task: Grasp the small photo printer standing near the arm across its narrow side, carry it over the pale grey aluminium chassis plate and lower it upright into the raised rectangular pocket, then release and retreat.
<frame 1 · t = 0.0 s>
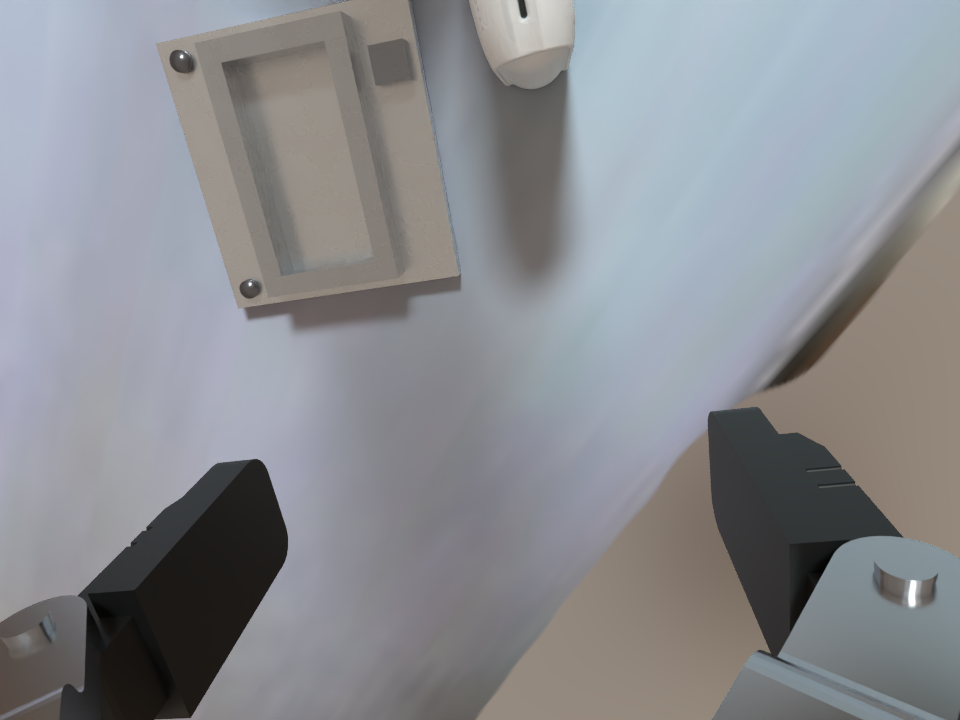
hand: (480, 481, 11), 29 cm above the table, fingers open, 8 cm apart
chassis: (319, 163, 38), on the table
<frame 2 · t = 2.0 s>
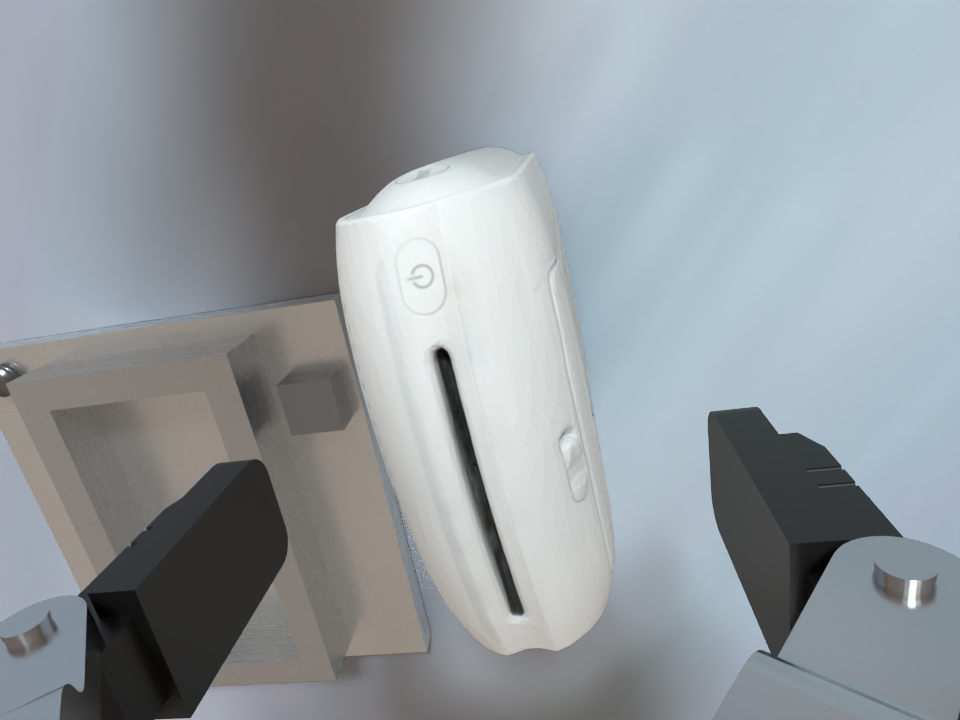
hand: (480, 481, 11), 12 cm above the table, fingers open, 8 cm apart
photo printer: (512, 293, 22), on the table
chassis: (222, 498, 26), on the table
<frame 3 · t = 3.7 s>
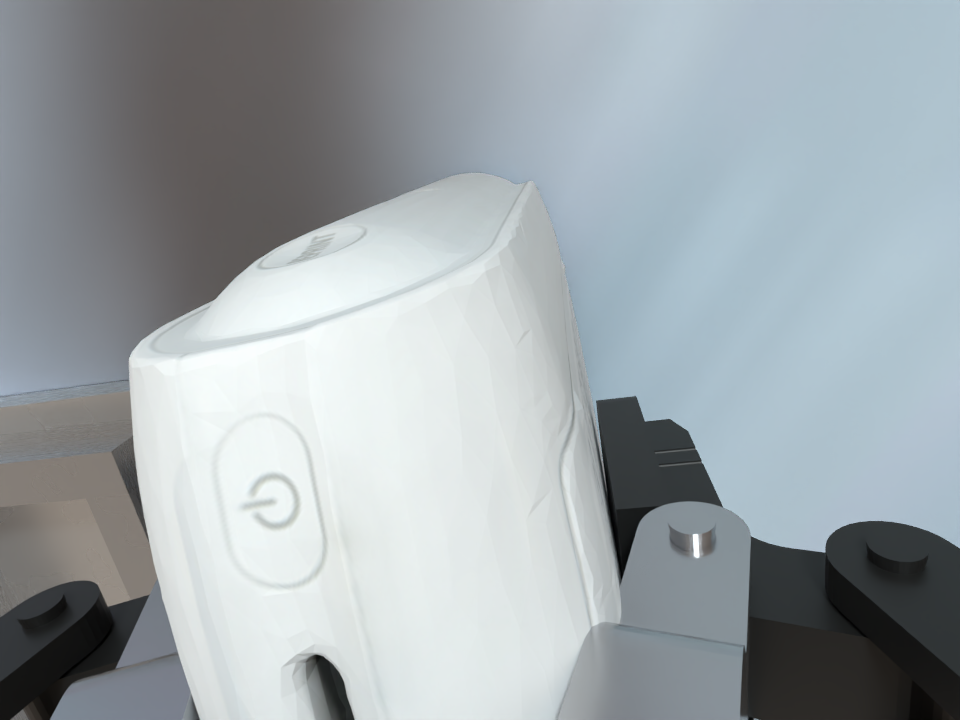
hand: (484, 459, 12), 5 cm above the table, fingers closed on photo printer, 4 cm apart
photo printer: (503, 364, 16), on the table, touching gripper
chassis: (136, 609, 21), on the table
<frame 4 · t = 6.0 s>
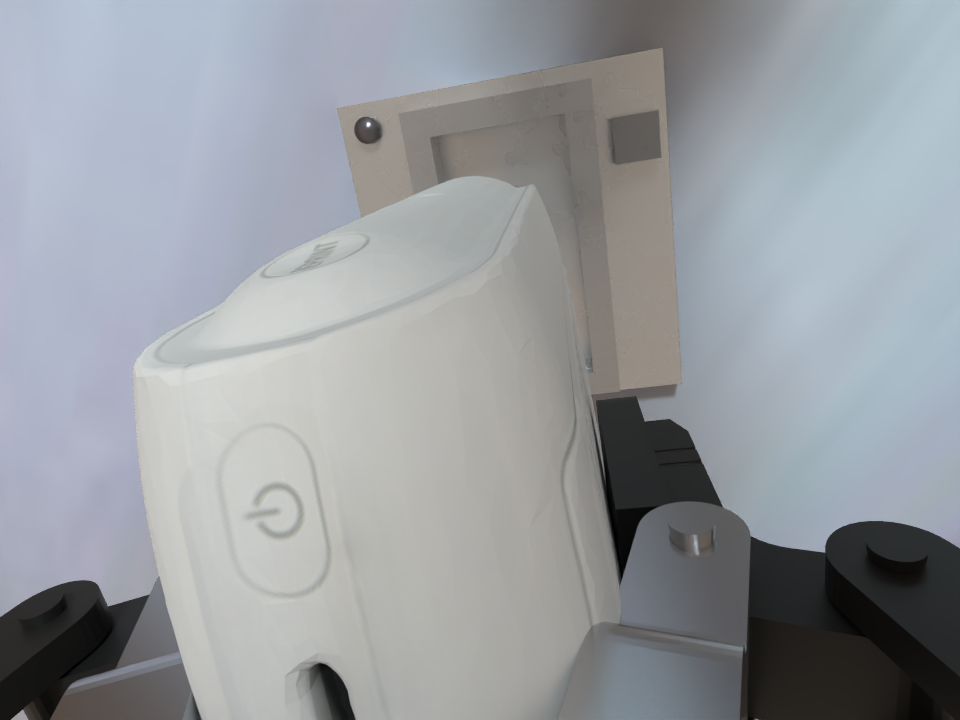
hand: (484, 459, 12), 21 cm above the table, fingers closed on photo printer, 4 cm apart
photo printer: (504, 367, 17), point 16 cm above the table, touching gripper
chassis: (518, 249, 32), on the table
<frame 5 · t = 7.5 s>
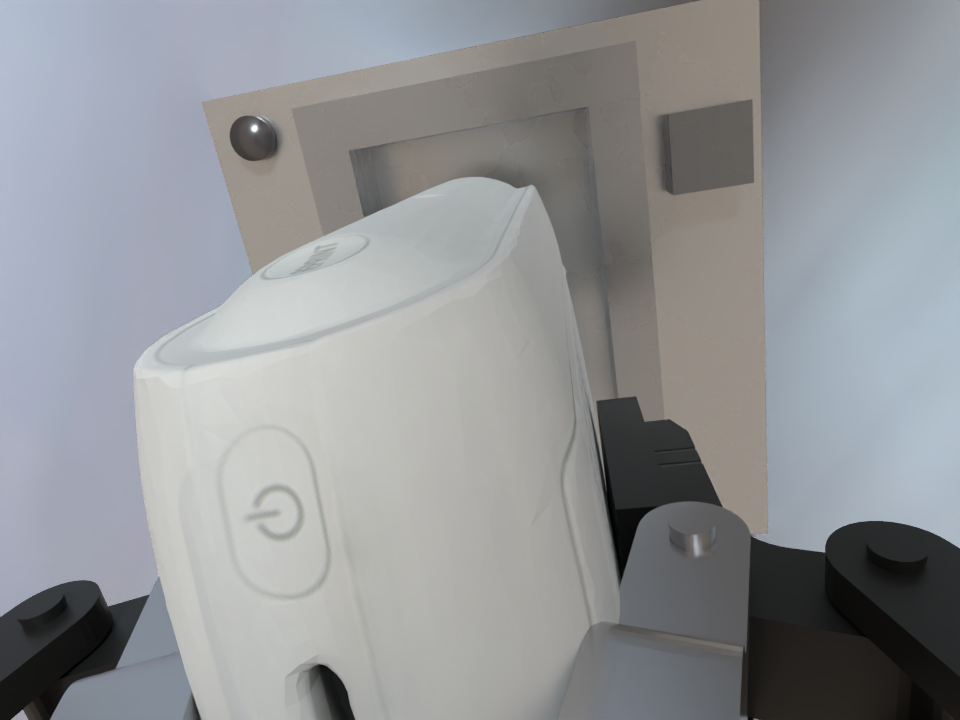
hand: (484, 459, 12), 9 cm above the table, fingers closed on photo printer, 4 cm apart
photo printer: (504, 367, 17), point 4 cm above the table, touching gripper
chassis: (509, 324, 20), on the table
when the fingers open (7 cm above the table, at t = 8.6 s): photo printer stays where it is, resting on chassis.
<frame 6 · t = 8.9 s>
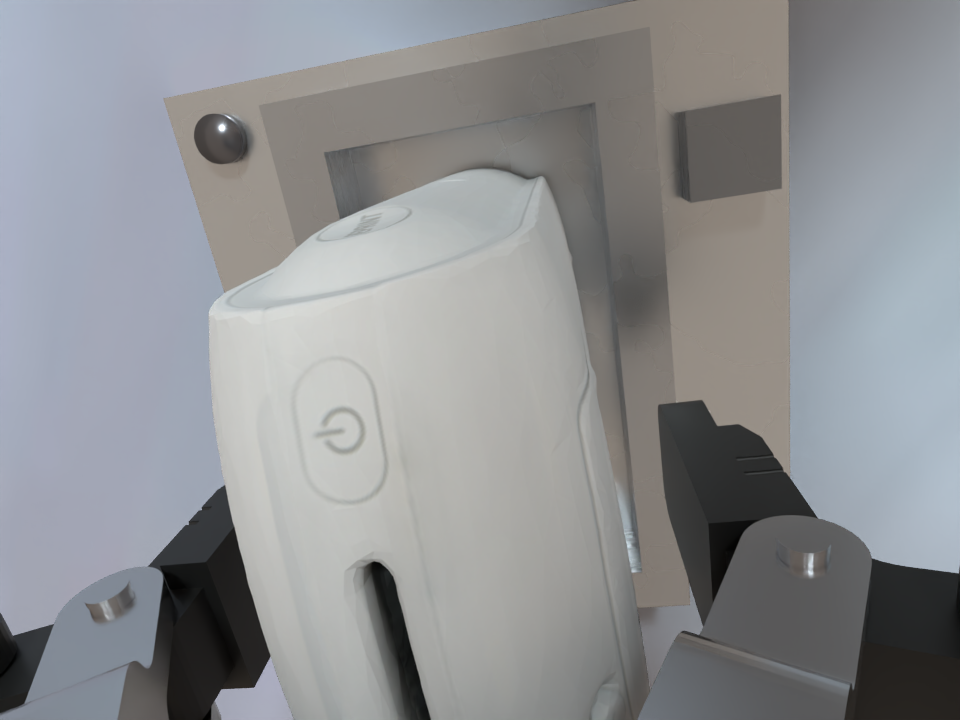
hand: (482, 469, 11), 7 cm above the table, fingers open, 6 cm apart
photo printer: (510, 351, 17), point 1 cm above the table, touching chassis
chassis: (506, 343, 18), on the table
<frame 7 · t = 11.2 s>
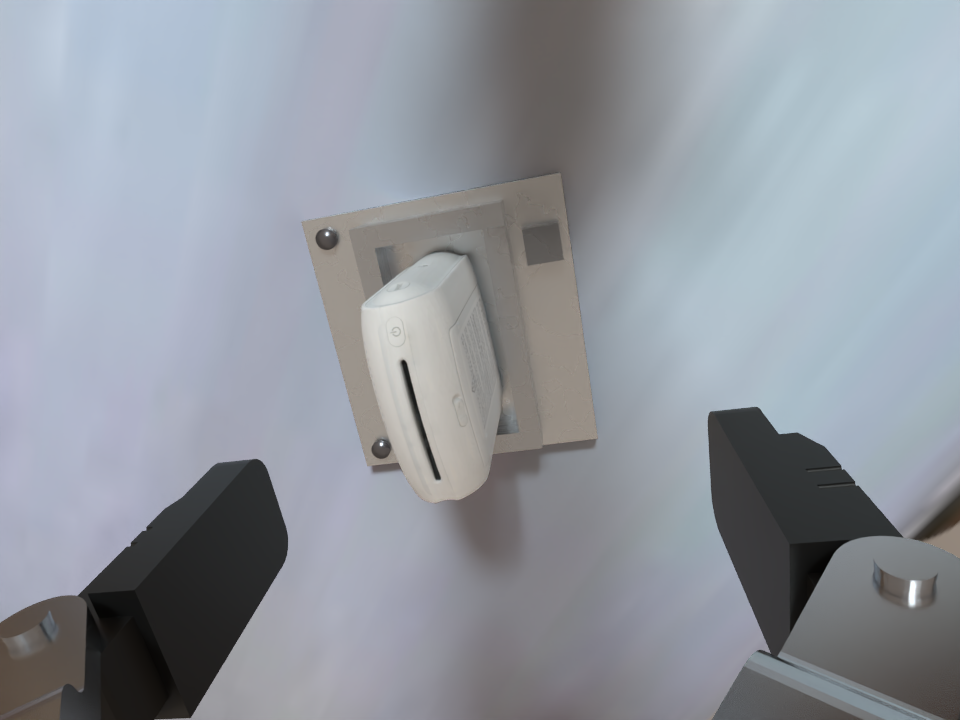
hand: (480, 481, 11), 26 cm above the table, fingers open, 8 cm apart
photo printer: (457, 331, 37), point 1 cm above the table, touching chassis
chassis: (456, 329, 38), on the table
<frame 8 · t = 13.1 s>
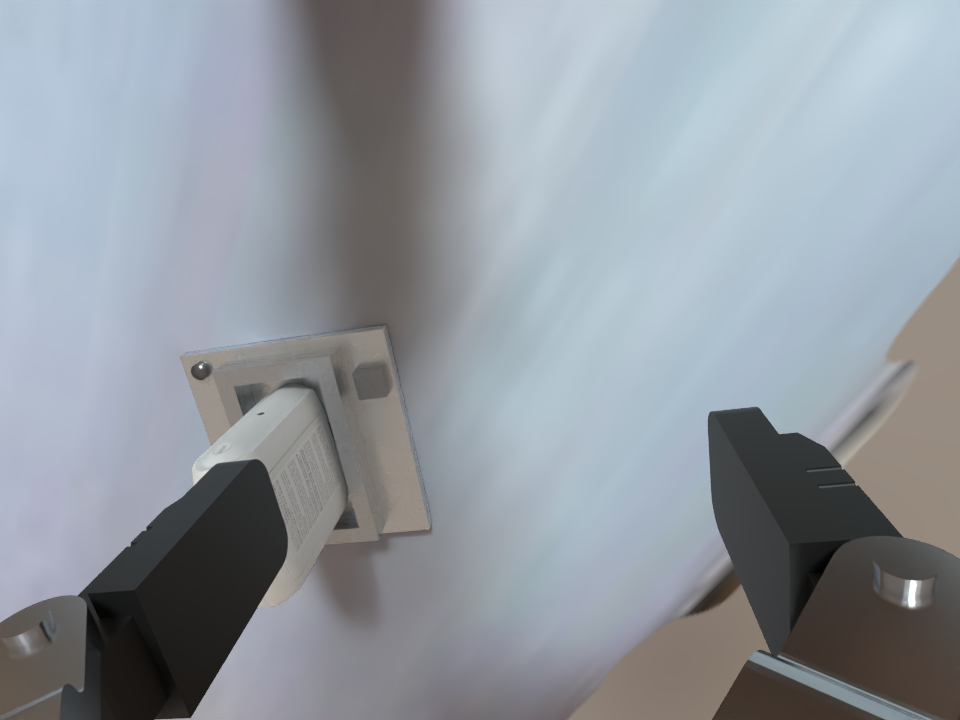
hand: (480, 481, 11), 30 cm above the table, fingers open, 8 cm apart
photo printer: (312, 443, 45), point 1 cm above the table, touching chassis
chassis: (313, 439, 46), on the table
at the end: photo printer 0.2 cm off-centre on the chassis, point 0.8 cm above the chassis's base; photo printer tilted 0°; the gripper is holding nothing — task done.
